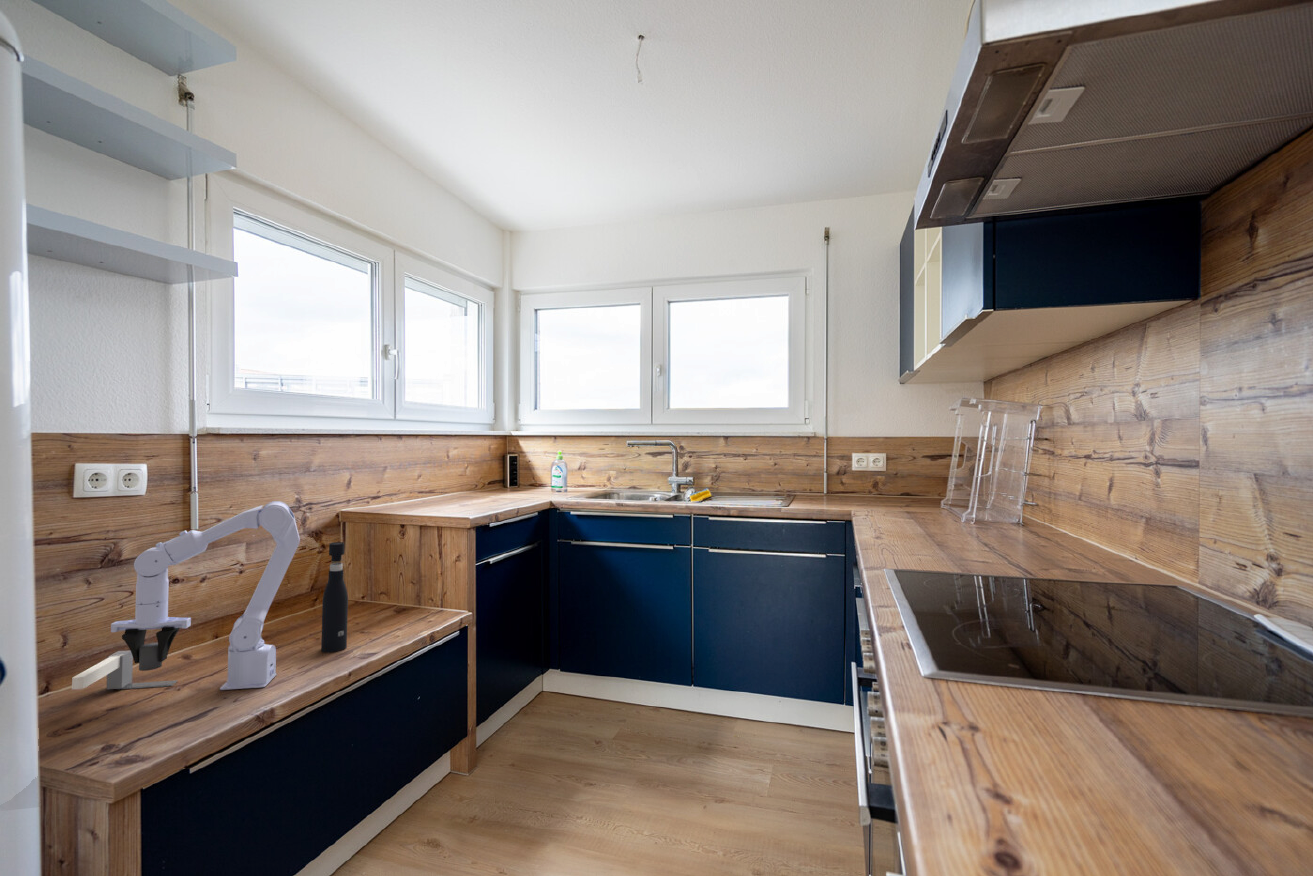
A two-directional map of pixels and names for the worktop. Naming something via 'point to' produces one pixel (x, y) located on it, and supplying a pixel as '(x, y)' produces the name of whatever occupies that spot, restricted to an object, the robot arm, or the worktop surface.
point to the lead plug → (149, 657)
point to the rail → (149, 684)
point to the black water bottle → (335, 604)
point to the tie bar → (108, 672)
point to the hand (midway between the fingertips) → (150, 661)
